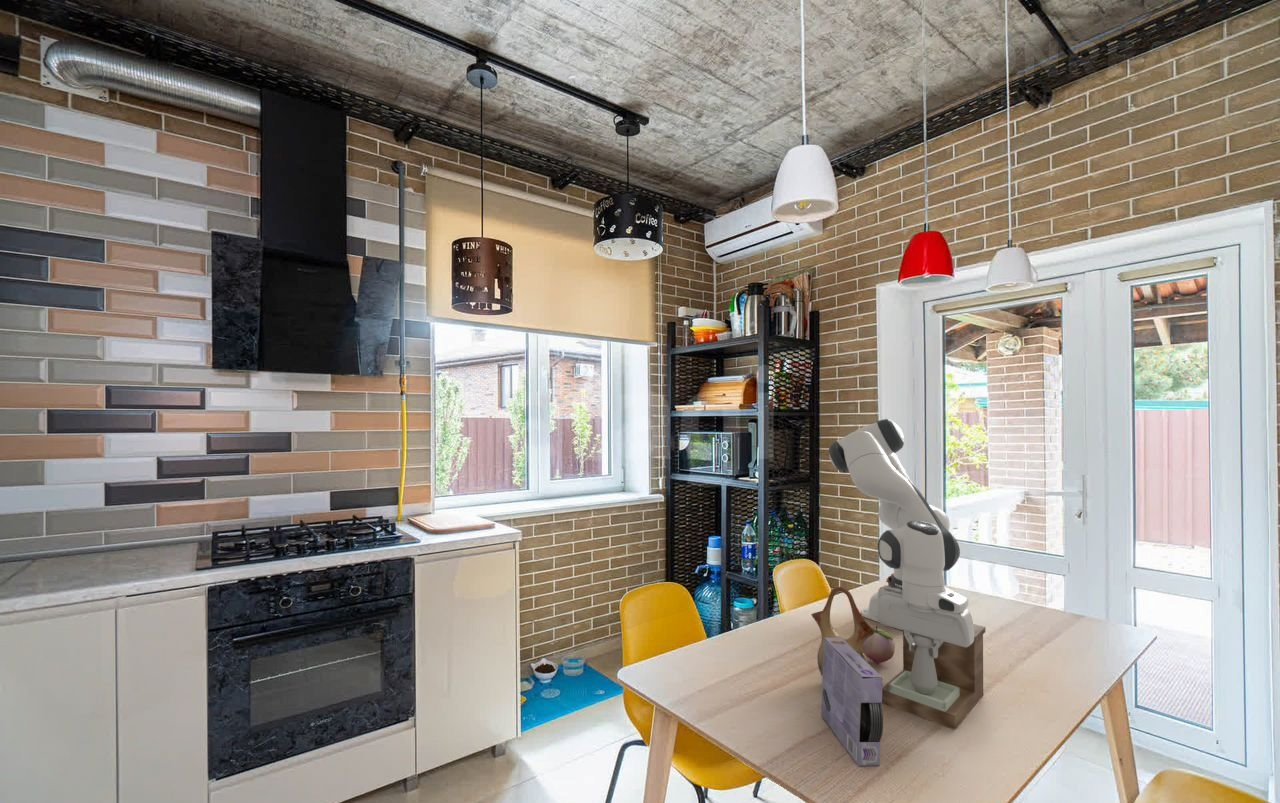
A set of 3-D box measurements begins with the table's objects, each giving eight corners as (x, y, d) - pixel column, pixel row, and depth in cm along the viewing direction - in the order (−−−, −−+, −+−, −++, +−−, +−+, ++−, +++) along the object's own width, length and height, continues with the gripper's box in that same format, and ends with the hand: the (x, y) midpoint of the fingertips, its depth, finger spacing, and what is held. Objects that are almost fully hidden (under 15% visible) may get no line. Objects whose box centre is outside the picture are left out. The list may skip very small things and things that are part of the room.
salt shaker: (942, 698, 126) (942, 640, 126) (915, 696, 127) (915, 638, 127) (931, 685, 132) (932, 630, 132) (906, 683, 133) (906, 628, 133)
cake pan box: (885, 770, 107) (885, 676, 107) (860, 771, 106) (860, 677, 107) (841, 715, 126) (841, 635, 126) (819, 716, 126) (819, 636, 126)
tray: (888, 692, 130) (888, 684, 130) (905, 677, 137) (905, 670, 137) (945, 712, 122) (945, 703, 122) (959, 695, 129) (959, 687, 129)
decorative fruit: (900, 663, 152) (900, 625, 152) (889, 673, 146) (889, 634, 146) (865, 652, 158) (865, 617, 158) (854, 662, 152) (853, 625, 152)
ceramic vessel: (801, 682, 141) (801, 582, 141) (822, 672, 147) (822, 575, 147) (863, 709, 128) (863, 599, 129) (883, 697, 134) (882, 591, 134)
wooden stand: (878, 701, 132) (878, 631, 132) (912, 671, 147) (912, 609, 147) (957, 730, 120) (957, 654, 120) (985, 694, 135) (985, 627, 135)
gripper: (872, 586, 135) (872, 644, 135) (967, 608, 121) (968, 673, 120) (883, 580, 140) (883, 636, 139) (976, 601, 125) (976, 663, 125)
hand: (923, 653), depth 130 cm, fingers closed on salt shaker, 3 cm apart
